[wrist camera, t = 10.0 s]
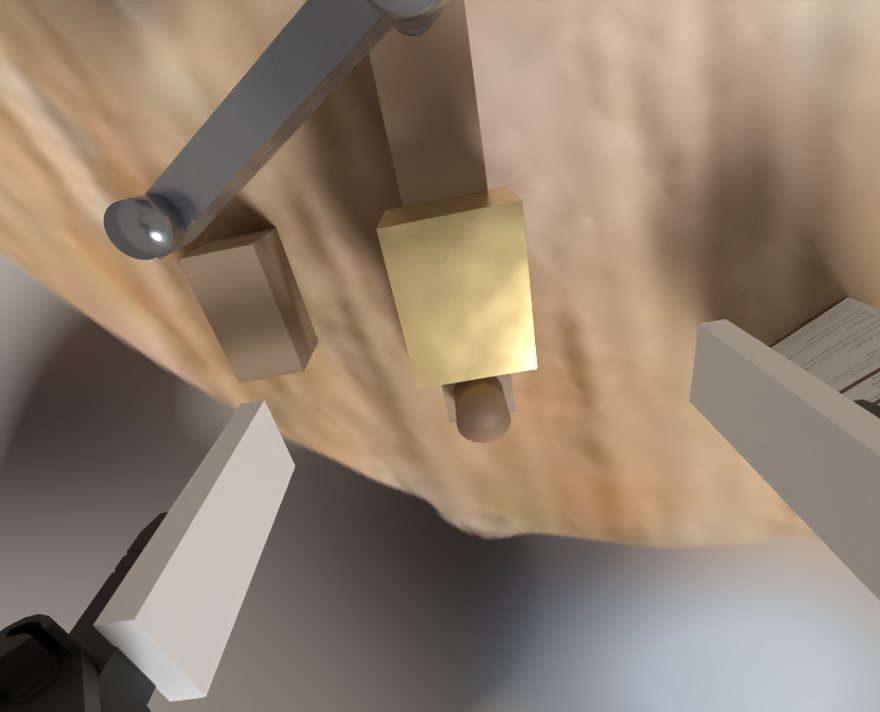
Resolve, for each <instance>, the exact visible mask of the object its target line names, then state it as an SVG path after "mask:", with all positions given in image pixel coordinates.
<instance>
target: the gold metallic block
mask: <svg viewBox="0 0 880 712" xmlns="http://www.w3.org/2000/svg"><path fill="white" fill-rule="evenodd" d="M376 230H377V234H378V238H379V242H380V246H381V250H382V253H383V257H384V261H385V265H386V269H387V273H388V277H389V281H390V285H391V289H392V293H393V296H394V300H395V304H396V308H397V312H398V316H399V320H400V324H401V328H402V332H403V335H404V339H405V343H406V347H407V351H408V355H409V359H410V363H411V367H412V371H413V374H414V378H415V382H416V386H417V389H422V388H428V387H434V386H439V385H445V384H451V383H457V382H463V381H469V380H474V379H480V378H486V377H492V376H498V375H503V374H509V373H515V372H521V371H527V370H533V369H537V362H536V350H535V339H534V328H533V316H532V305H531V294H530V282H529V271H528V259H527V248H526V237H525V225H524V214H523V202H522V199H520V198H519V197H518V196H517V195H516V194H515V193H513V192H512V191H511V190H510V189H509V188H507V187H506V186H505V187H500V188H495V189H490V190H486V191H481V192H476V193H471V194H466V195H461V196H456V197H451V198H446V199H441V200H436V201H431V202H426V203H421V204H416V205H411V206H406V207H401V208H396V209H391V210H386V211H384V214H383V216H382V218H381V220H380V222H379V224H378V226H377V229H376Z"/></svg>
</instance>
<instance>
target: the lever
mask: <svg viewBox="0 0 880 712" xmlns="http://www.w3.org/2000/svg"><path fill="white" fill-rule="evenodd" d="M448 2H449V0H307V1H306V3H305V4H304V5H303V6H302V7H301V9H300V10H299V11H298V12H297V13H296V15H295V16H294V17H293V18H292V19H291V21H290V22H289V23H288V24H287V25H286V26H285V28H284V29H283V30H282V31H281V32H280V34H279V35H278V36H277V37H276V38H275V40H274V41H273V42H272V43H271V44H270V46H269V47H268V48H267V49H266V50H265V52H264V53H263V54H262V55H261V56H260V58H259V59H258V60H257V61H256V62H255V64H254V65H253V66H252V67H251V68H250V70H249V71H248V72H247V73H246V74H245V76H244V77H243V78H242V79H241V80H240V81H239V83H238V84H237V85H236V86H235V87H234V89H233V90H232V91H231V92H230V93H229V95H228V96H227V97H226V98H225V99H224V101H223V102H222V103H221V104H220V105H219V107H218V108H217V109H216V110H215V111H214V113H213V114H212V115H211V116H210V117H209V119H208V120H207V121H206V122H205V123H204V125H203V126H202V127H201V128H200V129H199V131H198V132H197V133H196V134H195V135H194V136H193V138H192V139H191V140H190V141H189V142H188V144H187V145H186V146H185V147H184V148H183V150H182V151H181V152H180V153H179V154H178V156H177V157H176V158H175V159H174V160H173V162H172V163H171V164H170V165H169V166H168V168H167V169H166V170H165V171H164V172H163V174H162V175H161V176H160V177H159V178H158V180H157V181H156V182H155V183H154V184H153V186H152V187H151V188H150V189H149V190H148V191H147V193H146V194H145V195H140V196H137V197H133V198H129V199H125V200H121V201H118V202H115V203H113V204H112V205H110V206H109V207H108V208H107V210H106V212H105V215H104V227H105V231H106V233H107V235H108V237H109V239H110V240H111V242H112V243H113V244H114V245H115V246H116V247H117V248H118V249H119V250H120V251H122V252H123V253H125V254H126V255H128V256H130V257H133V258H136V259H141V260H149V259H153V258H156V257H158V258H159V259H160V258H162V257H164V256H166V255H168V254H170V253H172V252H174V251H176V250H178V249H180V248H182V247H183V246H185V245H187V244H189V243H191V242H193V241H194V240H195V239H196V238H197V237H198V236H199V235H200V234H201V232H202V231H203V230H204V229H205V228H206V227H207V226H208V225H209V224H210V223H211V222H212V221H213V220H214V218H215V217H216V216H217V215H218V214H219V213H220V212H221V211H222V210H223V209H224V208H225V207H226V206H227V204H228V203H229V202H230V201H231V200H232V199H233V198H234V197H235V196H236V195H237V194H238V193H239V192H240V190H241V189H242V188H243V187H244V186H245V185H246V184H247V183H248V182H249V181H250V180H251V179H252V178H253V176H254V175H255V174H256V173H257V172H258V171H259V170H260V169H261V168H262V167H263V166H264V165H265V164H266V162H267V161H268V160H269V159H270V158H271V157H272V156H273V155H274V154H275V153H276V152H277V151H278V150H279V149H280V147H281V146H282V145H283V144H284V143H285V142H286V141H287V140H288V139H289V138H290V137H291V136H292V135H293V133H294V132H295V131H296V130H297V129H298V128H299V127H300V126H301V125H302V124H303V123H304V122H305V121H306V119H307V118H308V117H309V116H310V115H311V114H312V113H313V112H314V111H315V110H316V109H317V108H318V107H319V105H320V104H321V103H322V102H323V101H324V100H325V99H326V98H327V97H328V96H329V95H330V94H331V93H332V91H333V90H334V89H335V88H336V87H337V86H338V85H339V84H340V83H341V82H342V81H343V80H344V79H345V77H346V76H347V75H348V74H349V73H350V72H351V71H352V70H353V69H354V68H355V67H356V66H357V65H358V63H359V62H360V61H361V60H362V59H363V58H364V57H365V56H366V55H367V54H368V53H369V52H370V51H371V50H372V48H373V47H374V46H375V45H376V44H377V43H378V42H379V41H380V40H381V39H382V38H383V37H384V36H385V34H386V33H387V32H388V31H389V30H390V29H391V28H395V29H398V30H403V31H414V30H419V29H422V28H424V27H426V26H428V25H430V24H431V23H433V22H434V21H435V20H436V19H437V18H438V17H439V16H440V15H441V14H442V12H443V11H444V9H445V8H446V6H447V4H448Z"/></svg>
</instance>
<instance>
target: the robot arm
mask: <svg viewBox="0 0 880 712" xmlns="http://www.w3.org/2000/svg"><path fill="white" fill-rule="evenodd" d="M690 402H691V403H692V404H693V405H694V406H695V407H696V408H697V409H698V410H699V412H700V413H701V414H702V415H703V416H704V417H705V418H706V419H707V420H708V421H709V422H710V423H711V424H712V425H713V426H714V427H715V428H716V429H717V430H718V431H719V433H720V434H721V435H722V436H723V437H724V438H725V439H726V440H727V441H728V442H729V443H730V444H731V445H732V446H733V447H734V448H735V449H736V450H737V451H738V452H739V454H740V455H741V456H742V457H743V458H744V459H745V460H746V461H747V462H748V463H749V464H750V465H751V466H752V467H753V468H754V469H755V470H756V471H757V472H758V473H759V475H760V476H761V477H762V478H763V479H764V480H765V481H766V482H767V483H768V484H769V485H770V486H771V487H772V488H773V489H774V490H775V491H776V492H777V493H778V494H779V496H780V497H781V498H782V499H783V500H784V501H785V502H786V503H787V504H788V505H789V506H790V507H791V508H792V509H793V510H794V511H795V512H796V513H797V514H798V515H799V517H800V518H801V519H802V520H803V521H804V522H805V523H806V524H807V525H808V526H809V527H810V528H811V529H812V530H813V531H814V532H815V533H816V534H817V535H818V536H819V538H820V539H821V540H823V542H824V543H825V544H826V545H827V546H828V547H829V548H830V549H831V550H832V551H833V552H834V553H835V554H836V555H837V556H838V557H839V559H840V560H841V561H842V562H843V563H844V564H845V565H846V566H847V567H848V568H849V569H850V570H851V571H852V572H853V573H854V574H855V575H856V576H857V577H858V578H859V580H860V581H861V582H862V583H863V584H864V585H865V586H866V587H867V588H868V589H869V590H870V591H871V592H872V593H873V594H874V595H875V596H876V597H877V598H878V599H879V600H880V406H879V405H877V404H874V403H872V402H869V401H866V400H864V399H861V400H855V401H852V400H850V399H849V398H847V397H845V396H844V395H842V394H841V393H839V392H838V391H836V390H835V389H833V388H832V387H830V386H828V385H827V384H825V383H824V382H822V381H821V380H819V379H818V378H816V377H815V376H813V375H811V374H810V373H808V372H807V371H805V370H804V369H802V368H801V367H799V366H798V365H796V364H795V363H793V362H791V361H790V360H788V359H787V358H785V357H784V356H782V355H781V354H779V353H778V352H776V351H774V350H773V349H771V348H770V347H768V346H767V345H765V344H764V343H762V342H761V341H759V340H757V339H756V338H754V337H753V336H751V335H750V334H748V333H747V332H745V331H744V330H742V329H740V328H739V327H737V326H736V325H734V324H733V323H731V322H730V321H728V320H727V319H723V320H717V321H711V322H706V323H700V324H698V333H697V341H696V350H695V359H694V367H693V376H692V385H691V394H690ZM294 467H295V465H294V463H293V461H292V458H291V456H290V454H289V452H288V450H287V448H286V446H285V444H284V441H283V439H282V437H281V435H280V433H279V430H278V428H277V426H276V424H275V422H274V420H273V418H272V416H271V413H270V411H269V409H268V407H267V405H266V403H265V401H264V400H262V401H256V402H250V403H245V404H240V406H239V407H238V409H237V410H236V412H235V414H234V415H233V416H232V418H231V419H230V421H229V422H228V424H227V425H226V427H225V429H224V430H223V432H222V433H221V435H220V436H219V437H218V439H217V440H216V442H215V444H214V445H213V446H212V448H211V449H210V451H209V452H208V454H207V455H206V457H205V458H204V460H203V461H202V463H201V464H200V466H199V467H198V469H197V471H196V472H195V473H194V475H193V476H192V478H191V479H190V481H189V482H188V484H187V485H186V487H185V488H184V490H183V491H182V493H181V494H180V496H179V497H178V499H177V500H176V502H175V503H174V505H173V506H172V508H171V509H170V511H169V512H165V513H161V514H160V515H159V516H157V517H156V518H155V519H154V520H153V521H152V522H151V523H150V524H149V525H148V526H147V527H146V528H144V530H142V531H141V532H140V534H139V535H138V537H137V538H136V539H135V541H134V542H133V544H132V545H131V547H130V548H129V549H128V551H127V555H126V556H124V557H123V558H122V559H121V561H120V562H119V564H118V565H117V566H116V568H115V572H114V573H112V574H111V575H110V576H109V578H108V579H107V581H106V582H105V583H104V585H103V586H102V588H101V589H100V591H99V592H98V593H97V595H96V596H95V598H94V599H93V601H92V602H91V604H90V605H89V606H88V608H87V609H86V610H85V612H84V613H83V615H82V616H81V618H80V619H79V620H78V622H77V624H76V625H75V626H74V628H73V629H72V630H71V632H70V633H69V634H68V633H67V632H66V631H65V630H64V629H63V628H61V627H60V626H59V625H58V624H57V623H56V622H55V621H54V620H53V619H52V618H50V617H49V616H46V615H42V614H37V615H33V616H30V617H25V618H23V619H21V620H19V621H17V622H15V623H13V624H11V625H9V626H7V627H6V628H4V629H3V630H2V631H0V712H151V711H150V709H149V708H148V707H147V704H148V702H149V700H150V698H151V696H152V694H153V692H154V689H155V687H156V688H157V689H158V690H159V691H160V692H161V693H162V694H163V695H164V696H165V697H166V698H167V699H168V700H169V701H170V702H171V701H178V700H187V699H194V698H202V697H206V695H207V692H208V690H209V687H210V685H211V682H212V680H213V677H214V674H215V672H216V669H217V666H218V664H219V661H220V659H221V656H222V653H223V651H224V649H225V646H226V643H227V641H228V638H229V636H230V633H231V630H232V628H233V625H234V623H235V620H236V618H237V615H238V612H239V610H240V607H241V605H242V602H243V599H244V597H245V594H246V591H247V589H248V586H249V584H250V581H251V579H252V576H253V573H254V571H255V568H256V566H257V563H258V561H259V558H260V556H261V553H262V550H263V547H264V545H265V543H266V540H267V537H268V535H269V532H270V530H271V527H272V525H273V522H274V519H275V517H276V514H277V512H278V509H279V506H280V504H281V501H282V498H283V496H284V493H285V491H286V488H287V486H288V483H289V480H290V478H291V475H292V473H293V470H294Z"/></svg>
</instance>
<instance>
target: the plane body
mask: <svg viewBox="0 0 880 712" xmlns="http://www.w3.org/2000/svg"><path fill="white" fill-rule="evenodd" d="M369 57H370V61H371V66H372V71H373V75H374V80H375V84H376V89H377V93H378V98H379V102H380V107H381V111H382V116H383V120H384V125H385V129H386V134H387V138H388V143H389V148H390V152H391V157H392V161H393V166H394V170H395V175H396V179H397V184H398V188H399V193H400V197H401V202H402V206H403V207H406V206H411V205H416V204H421V203H426V202H431V201H436V200H441V199H446V198H451V197H456V196H461V195H466V194H471V193H476V192H481V191H486V190H488V189H487V181H486V173H485V165H484V157H483V149H482V141H481V133H480V125H479V117H478V109H477V101H476V93H475V85H474V77H473V69H472V61H471V53H470V45H469V37H468V29H467V21H466V13H465V5H464V0H449V2H448V4H447V6H446V8H445V9H444V11H443V12H442V14H441V15H440V16H439V17H438V18H437V19H436V20H435V21H434V22H433V23H431V24H430V25H428V26H426V27H424V28H422V29H419V30H414V31H403V30H398V29H395V28H391V29H390V30H389V31H388V32H387V33H386V34H385V36H384V37H383V38H382V39H381V40H380V41H379V42H378V43H377V44H376V45H375V46H374V47H373V48H372V50H371V51H370V52H369ZM442 388H443V392H444V397H445V401H446V406H447V410H448V415H449V419H450V422H456V421H457V427H458V430H459V432H460V433H461V435H462V436H464V437H465V438H466V439H468V440H470V441H473V442H478V443H486V442H491V441H494V440H496V439H498V438H500V437H501V436H503V435H504V434H505V433H506V431H507V430H508V428H509V426H510V423H511V417H510V413H511V412H515V406H514V398H513V390H512V382H511V374H510V373H509V374H503V375H498V376H492V377H486V378H480V379H474V380H469V381H463V382H457V383H451V384H445V385H442Z"/></svg>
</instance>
